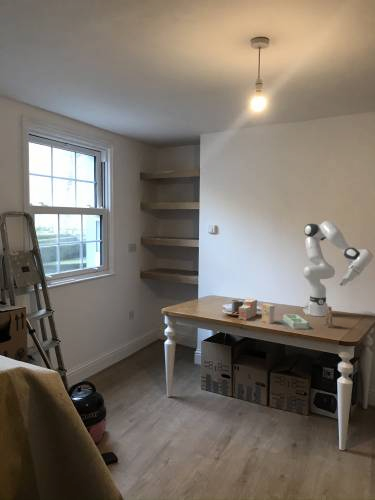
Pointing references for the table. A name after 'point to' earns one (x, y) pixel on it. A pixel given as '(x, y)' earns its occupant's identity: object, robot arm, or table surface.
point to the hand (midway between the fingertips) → (341, 285)
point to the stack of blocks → (248, 309)
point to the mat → (289, 325)
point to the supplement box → (267, 313)
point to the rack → (295, 321)
